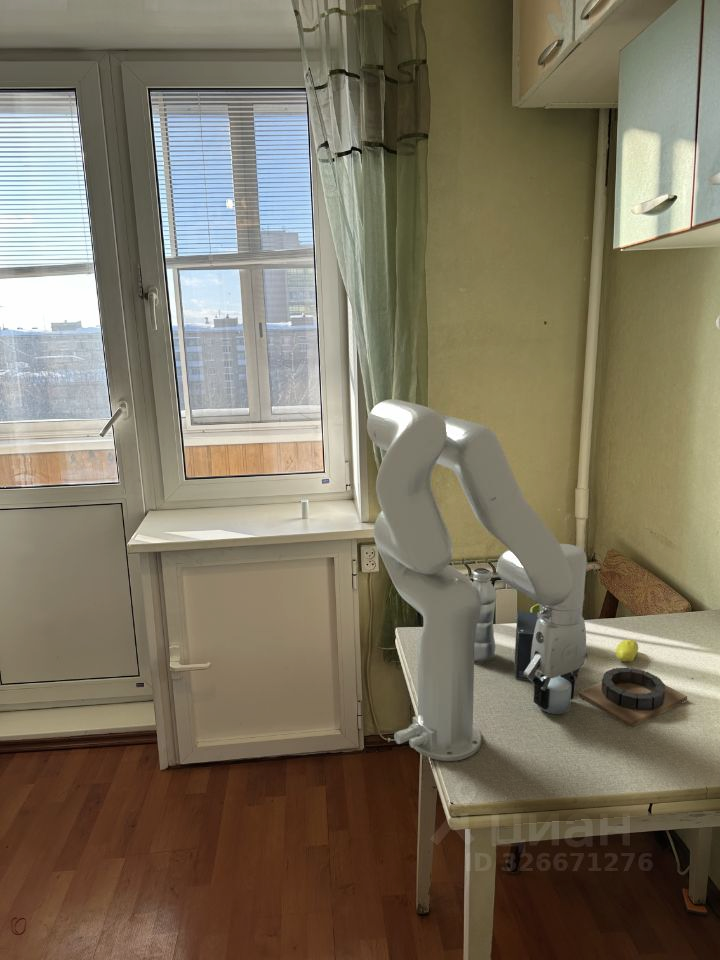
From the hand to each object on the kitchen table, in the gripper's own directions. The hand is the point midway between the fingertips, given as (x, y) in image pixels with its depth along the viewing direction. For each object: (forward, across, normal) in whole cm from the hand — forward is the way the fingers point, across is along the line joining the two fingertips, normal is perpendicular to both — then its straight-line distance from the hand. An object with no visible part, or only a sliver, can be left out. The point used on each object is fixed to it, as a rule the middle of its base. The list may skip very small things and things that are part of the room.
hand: (553, 699), depth 129 cm
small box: (+2, +7, +13) cm, 15 cm away
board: (+1, +15, -6) cm, 16 cm away
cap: (+1, 0, 0) cm, 1 cm away
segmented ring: (+1, +15, -6) cm, 16 cm away
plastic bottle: (+2, +1, +22) cm, 22 cm away
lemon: (+1, +27, +5) cm, 27 cm away
